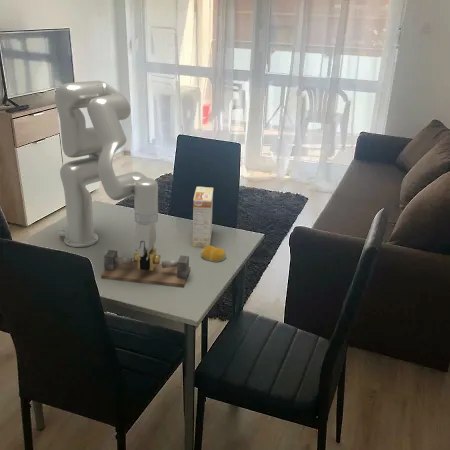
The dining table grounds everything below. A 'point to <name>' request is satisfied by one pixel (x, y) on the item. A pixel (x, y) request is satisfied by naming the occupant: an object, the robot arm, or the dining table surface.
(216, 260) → the bread roll
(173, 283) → the base
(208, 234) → the coffeecake box
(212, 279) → the dining table surface
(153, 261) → the brass coupler
